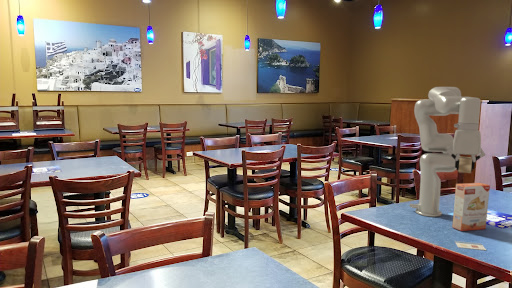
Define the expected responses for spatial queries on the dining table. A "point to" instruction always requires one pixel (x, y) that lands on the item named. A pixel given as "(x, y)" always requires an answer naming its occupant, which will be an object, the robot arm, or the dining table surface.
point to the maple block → (465, 164)
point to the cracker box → (470, 206)
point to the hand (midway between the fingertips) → (464, 169)
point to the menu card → (469, 245)
